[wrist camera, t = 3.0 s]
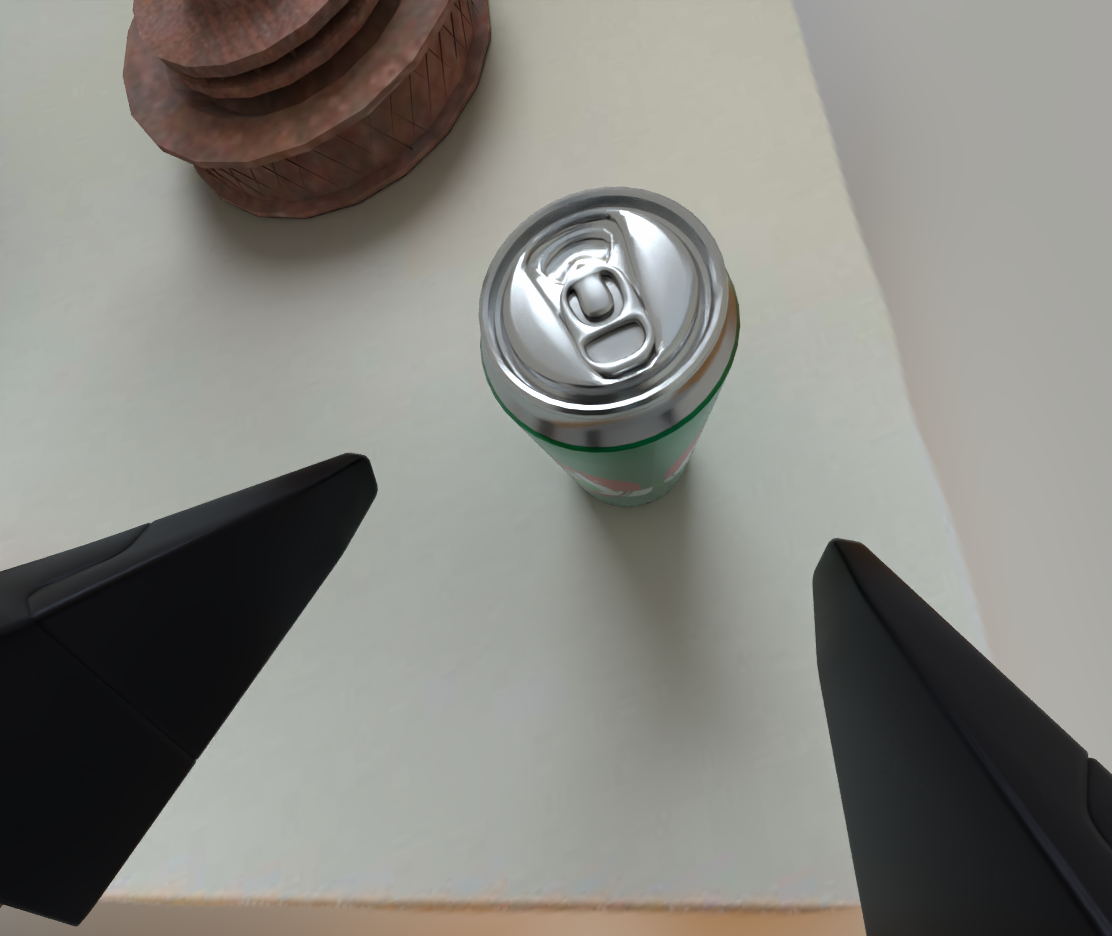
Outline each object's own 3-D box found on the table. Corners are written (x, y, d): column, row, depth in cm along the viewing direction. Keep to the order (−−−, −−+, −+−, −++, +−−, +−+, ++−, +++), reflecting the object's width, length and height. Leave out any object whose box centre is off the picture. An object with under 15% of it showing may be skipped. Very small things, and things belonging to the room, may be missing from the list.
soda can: (657, 376, 19) (672, 118, 8) (708, 479, 18) (815, 356, 7) (553, 422, 20) (424, 247, 8) (595, 526, 19) (512, 486, 7)
